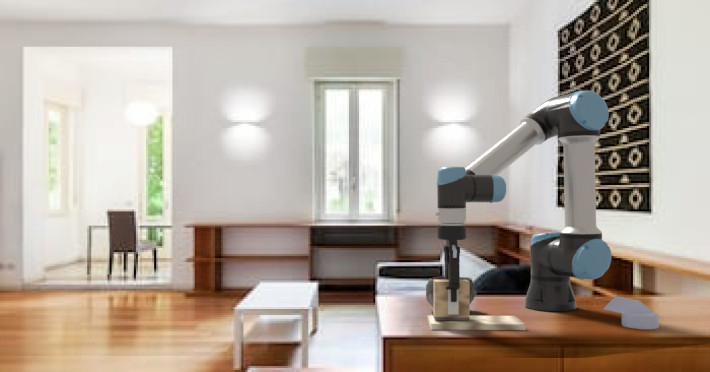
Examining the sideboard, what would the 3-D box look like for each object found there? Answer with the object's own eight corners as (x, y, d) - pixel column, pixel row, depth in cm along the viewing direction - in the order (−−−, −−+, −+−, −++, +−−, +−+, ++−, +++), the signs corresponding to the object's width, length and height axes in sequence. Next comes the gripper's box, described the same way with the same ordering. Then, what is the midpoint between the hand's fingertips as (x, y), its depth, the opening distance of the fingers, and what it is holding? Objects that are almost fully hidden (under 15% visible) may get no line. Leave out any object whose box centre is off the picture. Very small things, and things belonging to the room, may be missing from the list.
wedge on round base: (603, 321, 172) (640, 330, 160) (602, 296, 173) (640, 304, 161) (628, 319, 176) (666, 327, 164) (627, 295, 176) (666, 302, 164)
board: (515, 321, 172) (515, 315, 172) (525, 330, 160) (525, 324, 160) (427, 320, 173) (427, 315, 173) (431, 329, 161) (431, 323, 161)
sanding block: (466, 317, 169) (466, 279, 169) (469, 320, 164) (469, 282, 164) (433, 316, 169) (433, 279, 170) (434, 319, 164) (435, 281, 165)
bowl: (484, 311, 188) (484, 277, 188) (453, 317, 177) (453, 282, 178) (446, 305, 198) (446, 273, 198) (415, 311, 187) (415, 278, 187)
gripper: (434, 223, 176) (434, 306, 176) (441, 225, 159) (441, 318, 158) (461, 223, 176) (461, 306, 176) (470, 226, 158) (471, 318, 158)
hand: (451, 312), depth 167 cm, fingers closed on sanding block, 5 cm apart
